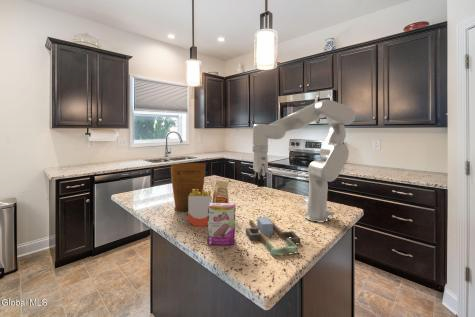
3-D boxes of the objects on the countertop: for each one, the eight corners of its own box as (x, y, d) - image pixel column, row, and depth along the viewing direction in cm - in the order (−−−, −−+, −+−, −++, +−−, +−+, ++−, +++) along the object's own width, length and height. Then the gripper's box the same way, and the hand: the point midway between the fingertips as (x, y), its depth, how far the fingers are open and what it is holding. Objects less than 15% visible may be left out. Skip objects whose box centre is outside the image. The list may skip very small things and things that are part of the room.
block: (267, 226, 118) (267, 217, 117) (272, 234, 109) (273, 223, 109) (257, 227, 117) (257, 217, 117) (261, 235, 108) (262, 224, 108)
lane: (277, 222, 123) (277, 218, 123) (308, 252, 93) (308, 246, 92) (240, 225, 119) (240, 220, 118) (260, 257, 88) (260, 250, 88)
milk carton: (214, 219, 127) (214, 181, 125) (211, 213, 136) (211, 178, 134) (230, 217, 129) (231, 181, 127) (227, 212, 138) (227, 177, 136)
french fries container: (190, 222, 121) (190, 187, 119) (211, 222, 122) (211, 187, 120) (188, 225, 117) (188, 189, 115) (210, 226, 117) (211, 189, 115)
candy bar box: (207, 245, 97) (207, 206, 95) (208, 240, 102) (208, 202, 100) (235, 245, 97) (235, 206, 95) (234, 240, 102) (235, 202, 100)
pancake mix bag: (205, 212, 137) (205, 163, 134) (170, 212, 135) (170, 163, 132) (205, 208, 144) (205, 162, 141) (172, 209, 142) (172, 161, 139)
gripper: (273, 150, 112) (272, 189, 113) (262, 148, 128) (261, 182, 130) (258, 150, 110) (257, 190, 112) (248, 148, 126) (247, 182, 128)
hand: (259, 185), depth 121 cm, fingers open, 3 cm apart
